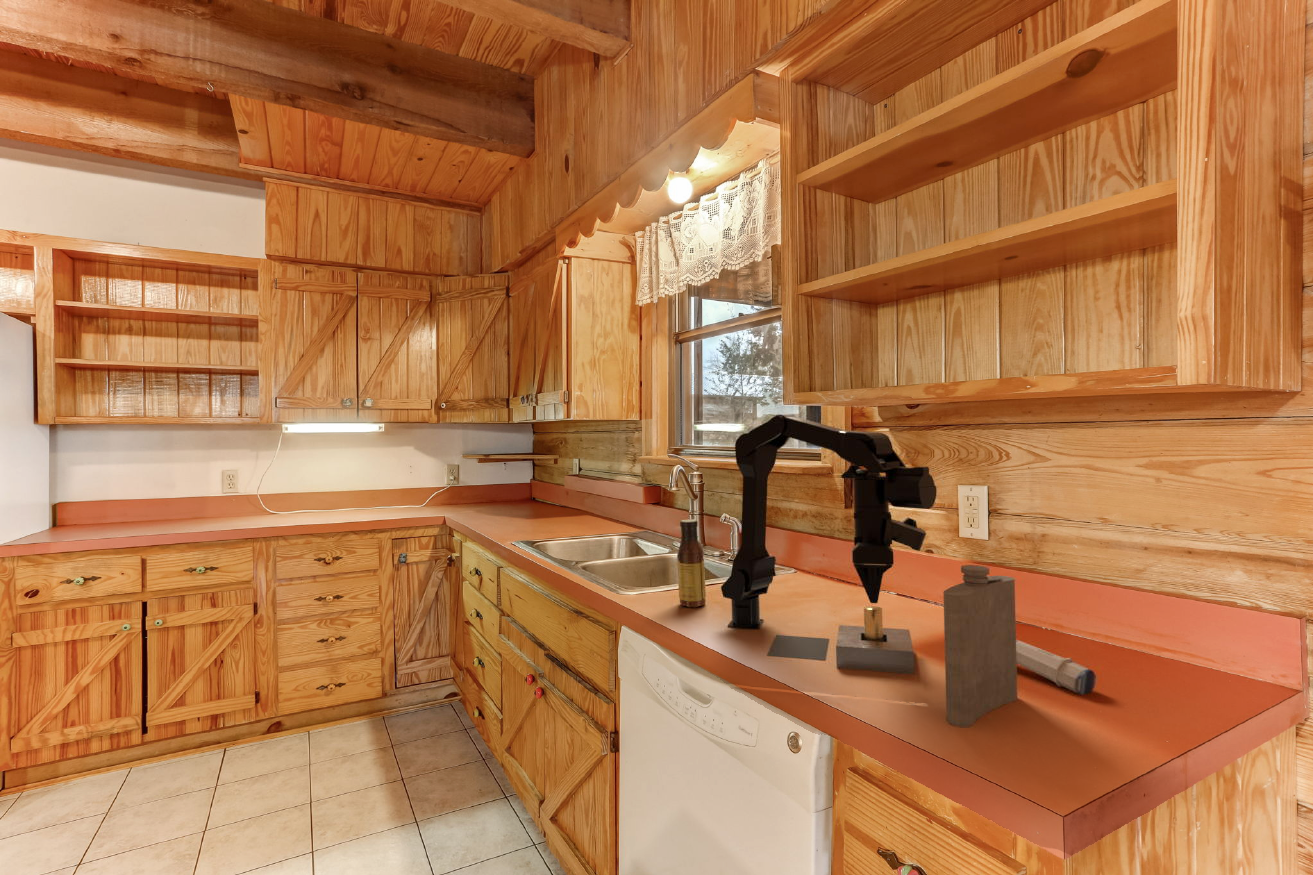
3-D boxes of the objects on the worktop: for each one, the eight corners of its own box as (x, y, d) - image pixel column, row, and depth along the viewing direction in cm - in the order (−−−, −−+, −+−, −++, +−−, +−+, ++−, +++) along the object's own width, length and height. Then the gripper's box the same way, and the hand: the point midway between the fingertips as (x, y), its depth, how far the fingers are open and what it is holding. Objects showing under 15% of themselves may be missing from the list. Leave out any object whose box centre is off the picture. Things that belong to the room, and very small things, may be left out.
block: (839, 646, 118) (839, 624, 118) (909, 652, 114) (909, 629, 114) (836, 669, 106) (836, 645, 106) (914, 676, 102) (913, 651, 102)
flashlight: (1077, 672, 93) (940, 608, 116) (1072, 715, 94) (936, 643, 116) (1100, 666, 95) (961, 604, 118) (1095, 708, 96) (957, 639, 119)
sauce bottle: (692, 600, 154) (690, 517, 154) (711, 604, 149) (709, 519, 149) (672, 605, 149) (670, 520, 149) (692, 610, 145) (689, 522, 145)
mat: (776, 636, 124) (776, 634, 124) (829, 640, 121) (829, 638, 121) (766, 657, 113) (766, 655, 113) (825, 662, 110) (825, 660, 110)
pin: (865, 657, 112) (863, 605, 112) (883, 658, 111) (882, 606, 111) (865, 662, 109) (863, 610, 109) (883, 664, 108) (882, 611, 108)
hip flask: (964, 729, 84) (961, 577, 84) (935, 718, 87) (932, 572, 87) (1021, 697, 94) (1018, 560, 93) (993, 689, 97) (990, 557, 97)
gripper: (926, 512, 99) (929, 613, 98) (917, 500, 116) (920, 586, 116) (850, 511, 102) (853, 609, 102) (853, 500, 120) (855, 583, 120)
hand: (873, 596), depth 110 cm, fingers open, 9 cm apart
